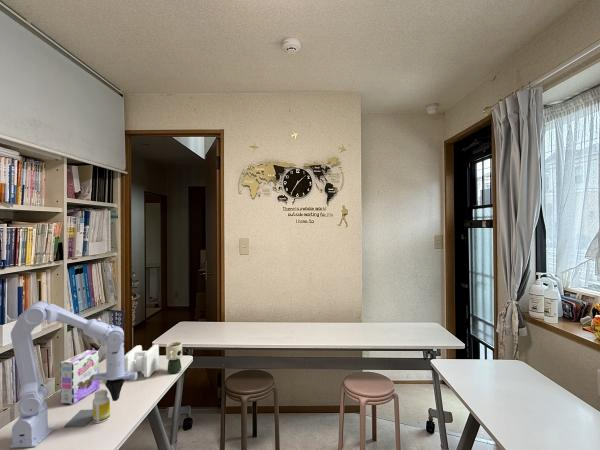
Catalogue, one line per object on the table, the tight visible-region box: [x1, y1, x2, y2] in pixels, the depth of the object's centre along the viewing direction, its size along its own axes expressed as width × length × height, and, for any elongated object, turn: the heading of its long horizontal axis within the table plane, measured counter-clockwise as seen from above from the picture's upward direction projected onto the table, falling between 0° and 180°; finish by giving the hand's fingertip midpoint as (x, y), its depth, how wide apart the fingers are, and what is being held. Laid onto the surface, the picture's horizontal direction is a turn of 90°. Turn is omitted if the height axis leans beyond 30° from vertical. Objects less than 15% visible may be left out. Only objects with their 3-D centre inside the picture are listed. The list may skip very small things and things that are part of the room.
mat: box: [64, 408, 93, 428], centre depth 125 cm, size 10×7×1 cm
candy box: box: [59, 349, 100, 406], centre depth 141 cm, size 14×6×16 cm, turn 168°
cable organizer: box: [124, 344, 160, 378], centre depth 161 cm, size 15×11×12 cm
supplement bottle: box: [92, 389, 111, 424], centre depth 124 cm, size 5×5×10 cm
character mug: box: [165, 341, 183, 374], centre depth 163 cm, size 11×7×13 cm, turn 1°
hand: (115, 399), depth 124 cm, fingers closed
